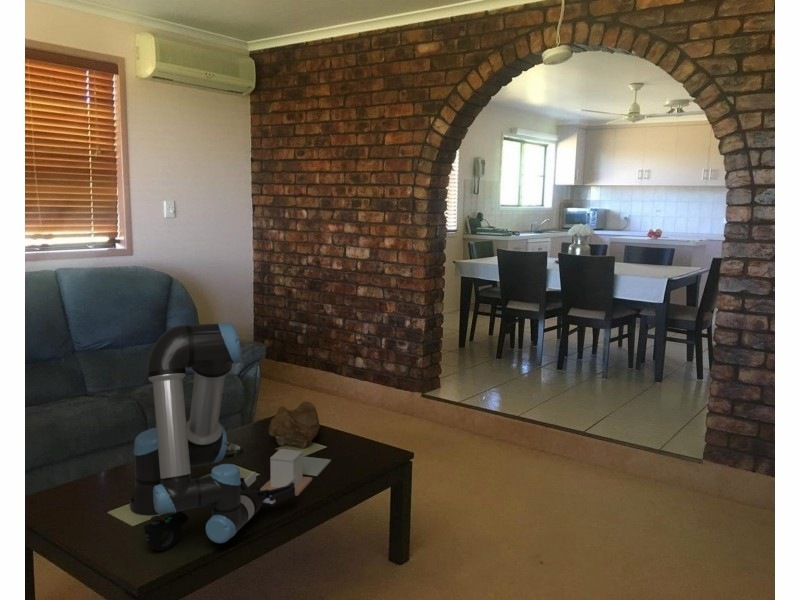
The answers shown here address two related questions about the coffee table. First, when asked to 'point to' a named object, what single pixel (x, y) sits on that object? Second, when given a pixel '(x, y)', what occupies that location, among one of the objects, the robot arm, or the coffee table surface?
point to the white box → (286, 467)
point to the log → (232, 450)
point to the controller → (164, 530)
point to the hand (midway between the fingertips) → (274, 478)
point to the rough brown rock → (295, 425)
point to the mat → (314, 465)
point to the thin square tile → (297, 489)
